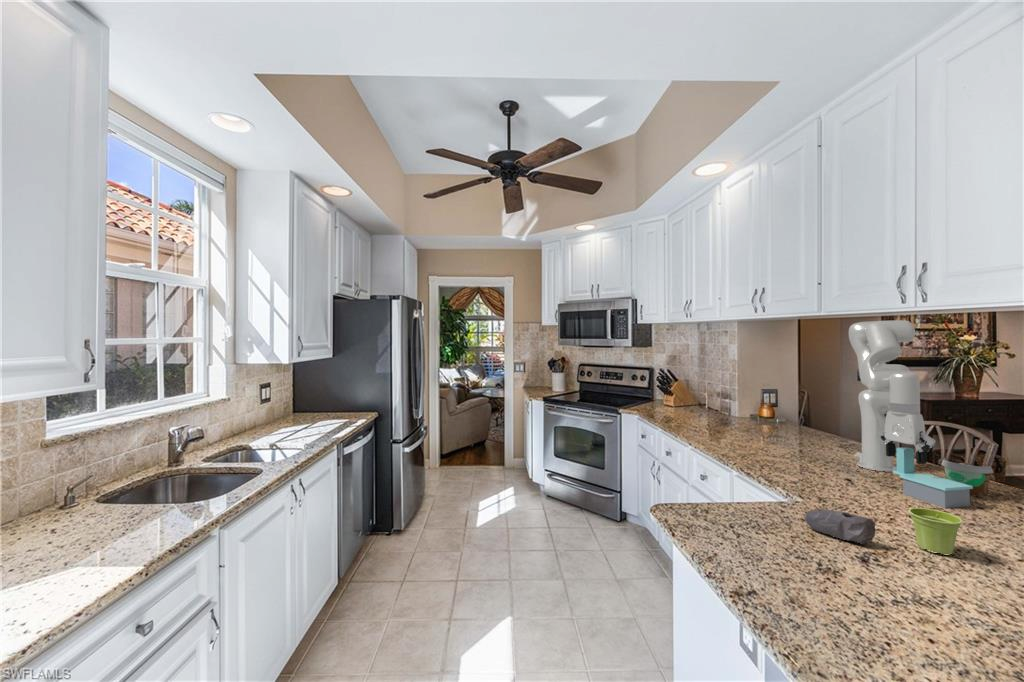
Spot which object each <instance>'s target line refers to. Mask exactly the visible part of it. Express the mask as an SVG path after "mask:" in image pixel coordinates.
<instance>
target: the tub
mask: <svg viewBox="0 0 1024 682" xmlns="http://www.w3.org/2000/svg"><path fill="white" fill-rule="evenodd" d="M902 494H903V495H904V496H908V497H910V498H913V499H917V500H919V501H923V502H924V503H925V502H926V503H927V504H928V503H929V504H930V505H935V506H937V507H940V508H942V509H943V508H944V509H953V508H962V507H963V508H965V507H971V505H970V503H971V502H970V501H971V500H970V498H971V497H970V495H971V494H970V490H969V489H964V490H950V491H944V490H941V489H937V488H934V487H931V486H927V485H924V484H921V483H917V482H914V481H911V480H907V479H904V478H902Z"/></svg>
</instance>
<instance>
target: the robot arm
mask: <svg viewBox="0 0 1024 682" xmlns="http://www.w3.org/2000/svg"><path fill="white" fill-rule="evenodd" d="M915 336H916V329H915V326H914V325H913V324H912V322H910V321H909V320H907V319H904V320H901V319H900V320H898V319H897V320H895V319H894V320H877V321H860V322H855V323H853V324H851V325H850V326H849V328H848V340H849V342H850V345H851V348H852V349H853V350H854V353H855V355H856V357H857V359H856V360H857V366H858V372H859V373H858V374H859V379H860V383H861V384H862V385H864V386H865V387H867V389H864V390H862V391H860V392H859V394H858V396H857V397H858V404H859V409H860V419H861V452H859V451H858V452H856V453H855V454H854V456H853V457H854V458H858V459H859V460H858V461H857V463H856V464H857V466H859V467H860V468H862V467H863V468H862V469H866V470H870V471H875V470H876V471H875V472H883V471H885V472H886V473H893V471H895V470H897V465H896V464H895V465H894V457H897V450H896V448H897V446H896V444H895V443H900V444H904V445H910V446H914V447H915V448H916V450H917V451H915V459H916V460H915V461H916V464H919V465H926V464H927V461H928V459H927V458H928V457H927V456H928V452H930V450H931V449H933V448H934V447H933V446H934V445H935V444H936V439H935V438H932V437H931V436H929V435H928V434H926V426H925V425H926V424H925V421H924V417H923V414H921V395H920V394H921V392H920V391H921V390H920V388H921V385H920V380H921V379H920V376H919V374H917V373H915V372H913V371H911V370H910V368H909V367H908V366H906V365H903V364H896V363H895V364H894V363H893V364H891V363H890V364H888V362H890V361H894V360H896V359H897V358H899V357H900V355H901V354H902V348H901V345H900V343H910V342H912V341H913V340H914V338H915ZM885 414H886V415H885Z"/></svg>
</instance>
